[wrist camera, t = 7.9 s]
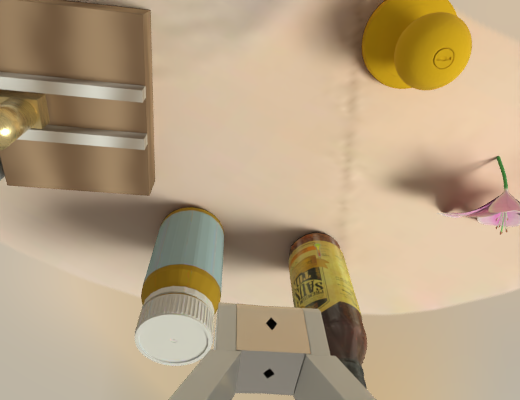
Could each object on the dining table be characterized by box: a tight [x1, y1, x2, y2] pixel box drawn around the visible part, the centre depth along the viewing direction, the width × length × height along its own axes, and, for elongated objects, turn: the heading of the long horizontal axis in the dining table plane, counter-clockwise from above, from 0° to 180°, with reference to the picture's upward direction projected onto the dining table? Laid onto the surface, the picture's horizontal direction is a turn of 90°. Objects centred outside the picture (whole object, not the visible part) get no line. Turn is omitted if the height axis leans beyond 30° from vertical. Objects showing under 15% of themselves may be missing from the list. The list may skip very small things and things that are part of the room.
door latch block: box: [0, 0, 155, 196], centre depth 33 cm, size 20×16×6 cm
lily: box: [437, 156, 520, 235], centre depth 40 cm, size 12×12×10 cm
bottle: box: [135, 207, 224, 366], centre depth 38 cm, size 7×7×15 cm
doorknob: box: [362, 0, 472, 90], centre depth 32 cm, size 8×8×8 cm
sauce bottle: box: [289, 233, 367, 389], centre depth 38 cm, size 7×6×20 cm
